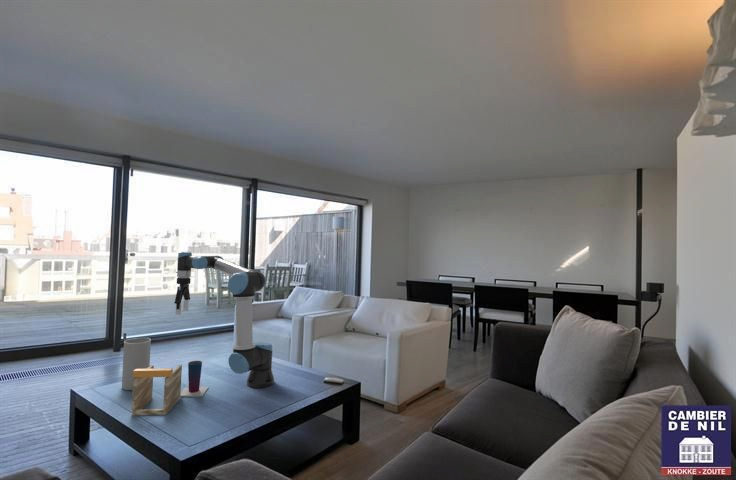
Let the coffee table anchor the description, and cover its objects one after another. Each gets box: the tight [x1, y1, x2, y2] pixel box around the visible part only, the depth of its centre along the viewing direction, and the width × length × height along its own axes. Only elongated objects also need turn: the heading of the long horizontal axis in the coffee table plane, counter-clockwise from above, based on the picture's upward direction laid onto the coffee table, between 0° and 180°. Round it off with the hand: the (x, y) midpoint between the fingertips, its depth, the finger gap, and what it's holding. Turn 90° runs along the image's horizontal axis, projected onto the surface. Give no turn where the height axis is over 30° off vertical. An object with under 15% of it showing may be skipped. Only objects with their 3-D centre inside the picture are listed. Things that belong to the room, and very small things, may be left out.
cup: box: [187, 360, 203, 393], centre depth 202 cm, size 7×7×15 cm
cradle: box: [131, 364, 183, 416], centre depth 184 cm, size 15×19×17 cm
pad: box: [180, 386, 209, 398], centre depth 202 cm, size 12×12×1 cm
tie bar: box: [133, 367, 174, 378], centre depth 177 cm, size 16×3×3 cm, turn 99°
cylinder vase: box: [121, 337, 152, 391], centre depth 207 cm, size 12×12×25 cm
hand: (182, 312), depth 229 cm, fingers open, 13 cm apart
